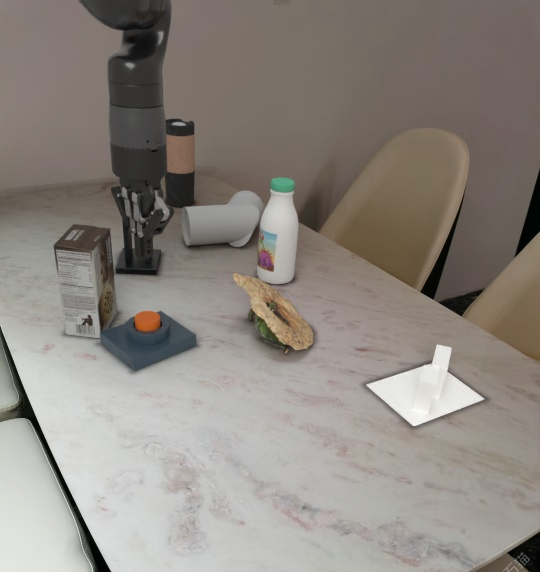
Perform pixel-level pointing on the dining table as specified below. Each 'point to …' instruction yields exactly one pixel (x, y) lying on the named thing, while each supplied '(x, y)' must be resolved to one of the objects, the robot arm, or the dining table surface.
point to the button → (147, 321)
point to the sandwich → (275, 315)
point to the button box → (147, 342)
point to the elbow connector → (223, 221)
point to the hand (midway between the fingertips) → (144, 257)
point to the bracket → (135, 258)
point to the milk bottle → (278, 234)
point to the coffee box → (86, 280)
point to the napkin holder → (426, 390)
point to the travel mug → (180, 163)
